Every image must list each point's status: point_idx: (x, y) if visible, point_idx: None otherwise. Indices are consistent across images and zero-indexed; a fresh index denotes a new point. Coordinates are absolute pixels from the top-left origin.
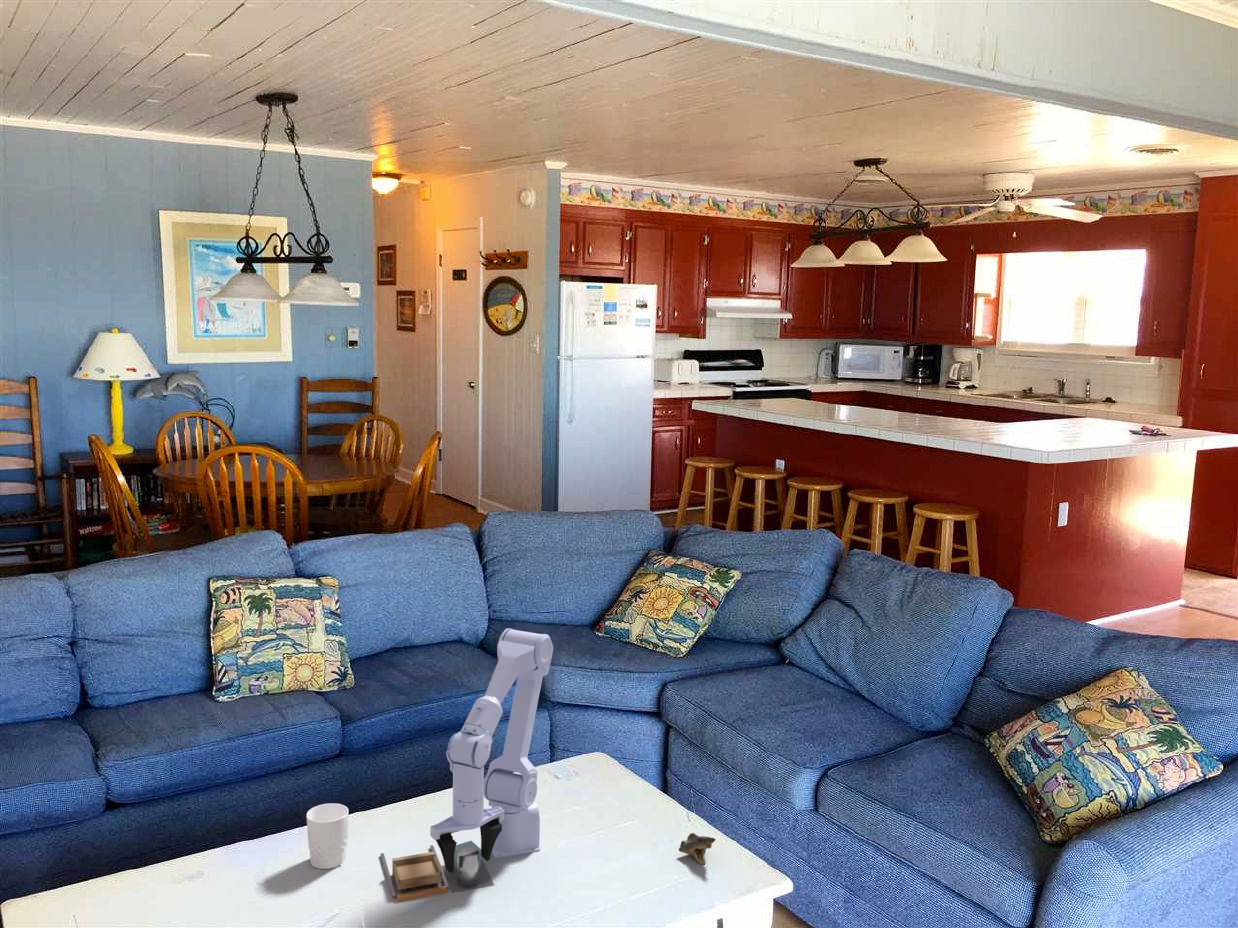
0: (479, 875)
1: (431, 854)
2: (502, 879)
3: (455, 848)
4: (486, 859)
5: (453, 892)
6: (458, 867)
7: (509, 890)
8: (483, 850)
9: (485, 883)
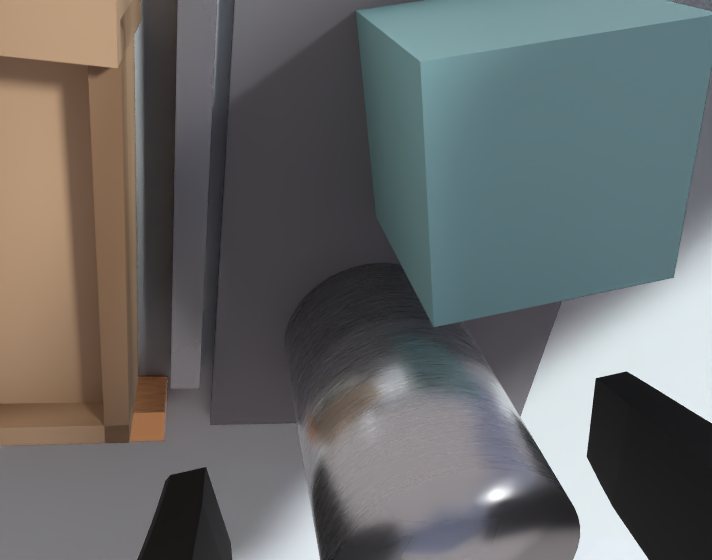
0: None
1: (55, 50)
2: (606, 352)
3: (427, 141)
4: (593, 467)
5: (220, 421)
6: (306, 478)
7: (567, 465)
8: (641, 461)
9: None
